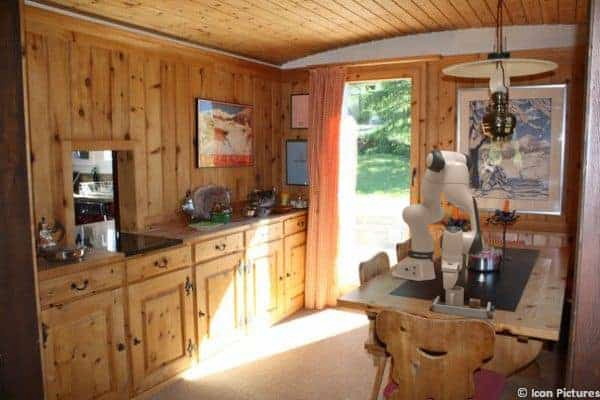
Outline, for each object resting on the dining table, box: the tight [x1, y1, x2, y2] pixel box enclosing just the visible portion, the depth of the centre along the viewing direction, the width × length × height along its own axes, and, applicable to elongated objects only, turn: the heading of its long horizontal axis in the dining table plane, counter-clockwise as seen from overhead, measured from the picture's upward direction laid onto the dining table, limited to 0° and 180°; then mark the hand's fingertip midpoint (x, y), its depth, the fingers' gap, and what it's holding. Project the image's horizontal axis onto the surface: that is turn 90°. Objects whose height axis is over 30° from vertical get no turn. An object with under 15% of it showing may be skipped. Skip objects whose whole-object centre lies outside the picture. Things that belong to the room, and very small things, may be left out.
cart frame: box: [428, 295, 495, 320], centre depth 210 cm, size 25×13×3 cm, turn 66°
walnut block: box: [468, 297, 481, 310], centre depth 208 cm, size 4×4×5 cm
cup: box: [444, 285, 465, 308], centre depth 210 cm, size 7×10×9 cm
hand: (450, 294), depth 220 cm, fingers closed
